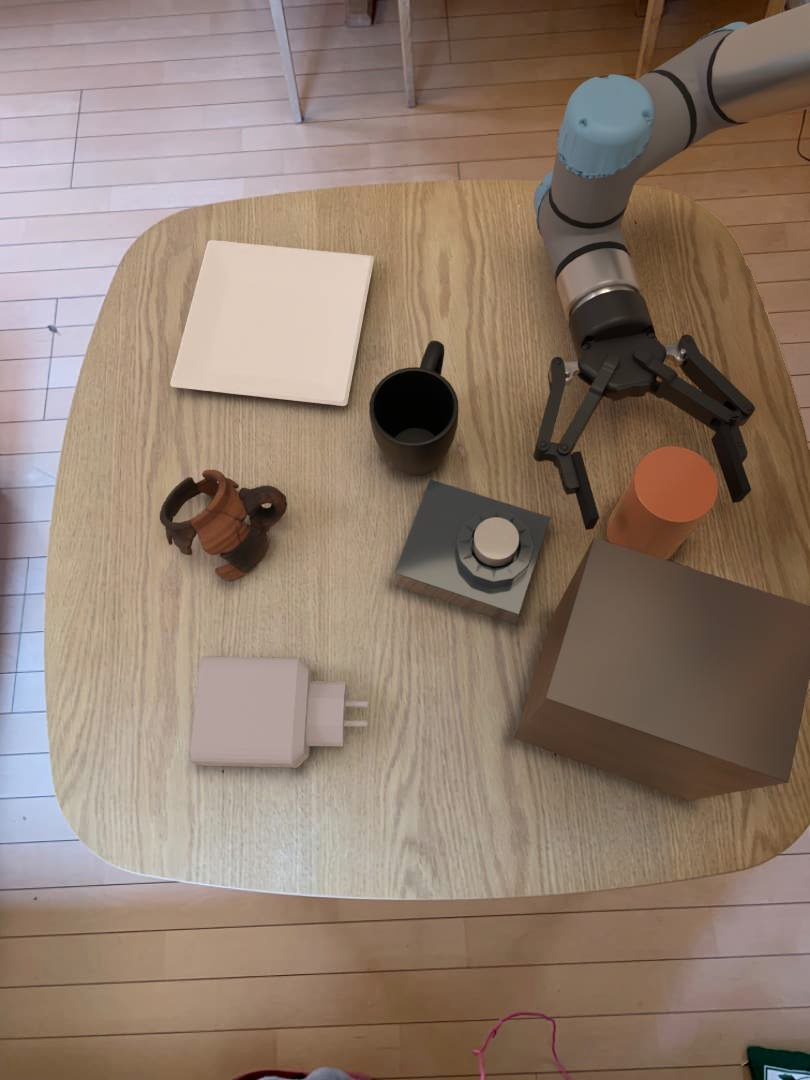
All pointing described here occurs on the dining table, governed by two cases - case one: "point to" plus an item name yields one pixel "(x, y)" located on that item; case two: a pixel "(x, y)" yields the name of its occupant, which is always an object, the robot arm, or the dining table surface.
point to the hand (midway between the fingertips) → (667, 510)
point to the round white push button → (495, 541)
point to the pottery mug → (225, 521)
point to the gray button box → (468, 553)
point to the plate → (274, 322)
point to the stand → (670, 676)
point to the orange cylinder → (663, 502)
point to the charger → (265, 712)
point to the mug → (415, 414)
